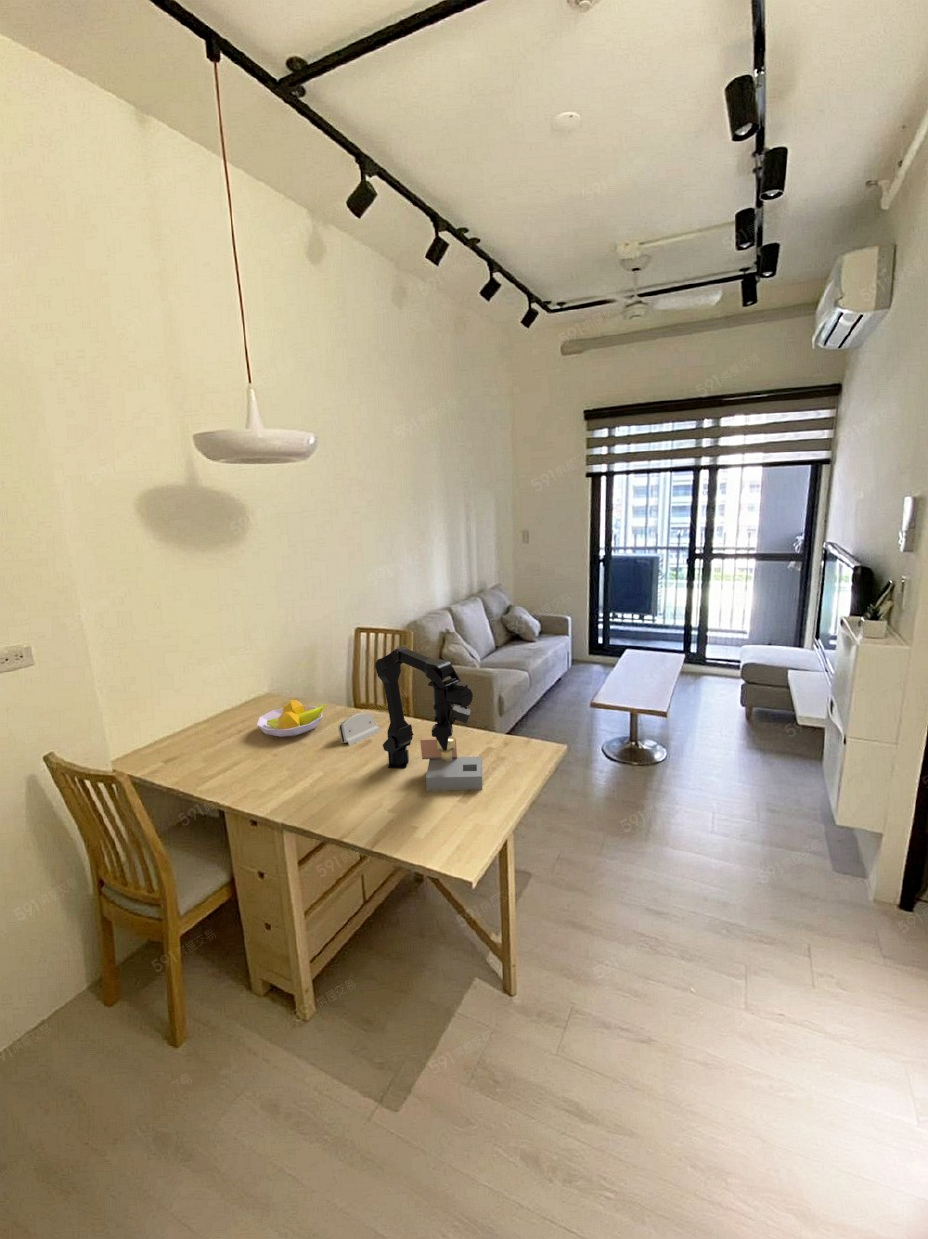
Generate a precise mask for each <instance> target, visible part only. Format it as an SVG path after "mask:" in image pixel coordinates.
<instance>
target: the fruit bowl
mask: <svg viewBox="0 0 928 1239" xmlns="http://www.w3.org/2000/svg"><path fill="white" fill-rule="evenodd" d="M326 707H327V704H325V703H323V705H322V706H319V707H316V706H314V705H303V704H302V703H301V702H300V701H298V700H297V699H290V700H289V701H288V702H287V703H286V704H285V705H284V706H283V707H282V708H277V709H273V710H271V711H269V712H267V713H265V714H263V715H261V716H259V718H258V720H257V723H256V725H257V727H258V728H259V729H260V730H261V731H262V732H263V733H264V734H265V735H270V736H275V737H296V736H299V735H302V734H305V733H306V732H309V731H311V730H312V729H315V728H316V727H317V725H318V724H319V723H320V722H321V721H322V718H323V711H324V710H325V709H326Z"/></svg>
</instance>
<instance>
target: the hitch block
mask: <svg viewBox="0 0 928 1239" xmlns="http://www.w3.org/2000/svg"><path fill="white" fill-rule="evenodd" d="M428 760H429V761H428V764H427V765H428V766H427V770H426V775H425V785H426V791H462V790H465V791H466V790H483V756H482V755H481V756H457V758H455V759H452V761H450V762H442V759H428Z"/></svg>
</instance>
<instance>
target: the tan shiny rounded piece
mask: <svg viewBox="0 0 928 1239" xmlns="http://www.w3.org/2000/svg"><path fill="white" fill-rule="evenodd" d="M455 738H456V737H454V736H453V735H452V736H450V737H448V745H447V750H446V751H444V750H443V749H442V747H441V745H440V744H439V742H438V740H437V739H436V744H437V750H438V751H441V758H442V762H450V761H452V750H454V749H455Z"/></svg>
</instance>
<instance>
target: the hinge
mask: <svg viewBox="0 0 928 1239" xmlns="http://www.w3.org/2000/svg"><path fill="white" fill-rule="evenodd" d="M338 732H339V737H340V742H341V744H343V743H347V744H348V746H352V745H355V744H356V743H358V742H360V741H363V740H365V739H367V738H369V737H371V736H373V735H376V734H378V733H381V729H380V727H379V726H378V724H377V722H376V719H375V718H374V716H373V714H372V713H371V712H362V713H357V714H353V715H351V716H349V717H347V718H346V719H344V720H343V721H342V722H341V723H340V724H338Z"/></svg>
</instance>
